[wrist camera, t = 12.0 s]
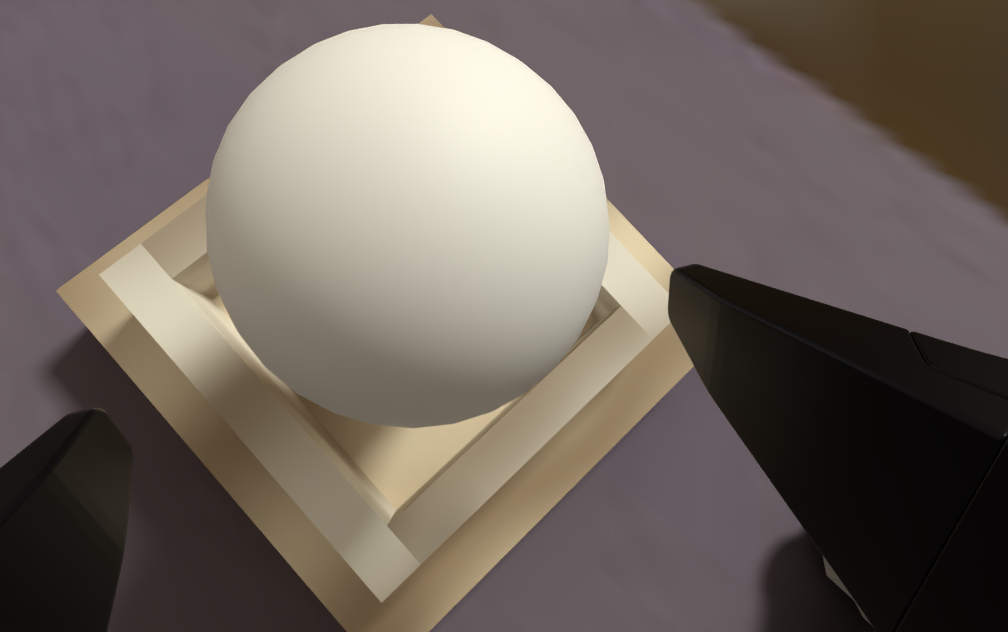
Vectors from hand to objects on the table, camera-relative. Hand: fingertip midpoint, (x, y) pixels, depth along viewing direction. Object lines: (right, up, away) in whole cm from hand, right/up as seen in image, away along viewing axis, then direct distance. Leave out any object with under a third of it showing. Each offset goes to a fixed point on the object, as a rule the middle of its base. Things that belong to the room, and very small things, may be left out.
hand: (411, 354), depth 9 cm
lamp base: (-2, 0, +10) cm, 11 cm away
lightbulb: (-1, +1, +8) cm, 8 cm away
